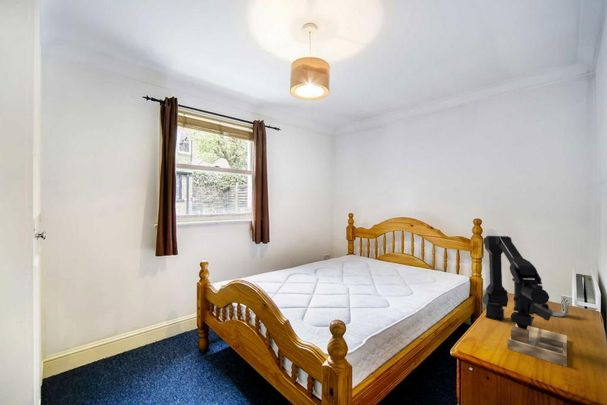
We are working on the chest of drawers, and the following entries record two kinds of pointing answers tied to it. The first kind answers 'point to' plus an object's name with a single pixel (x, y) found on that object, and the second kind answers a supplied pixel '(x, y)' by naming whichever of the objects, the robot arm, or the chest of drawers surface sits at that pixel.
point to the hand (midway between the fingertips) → (523, 334)
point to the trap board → (543, 345)
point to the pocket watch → (562, 309)
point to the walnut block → (520, 334)
